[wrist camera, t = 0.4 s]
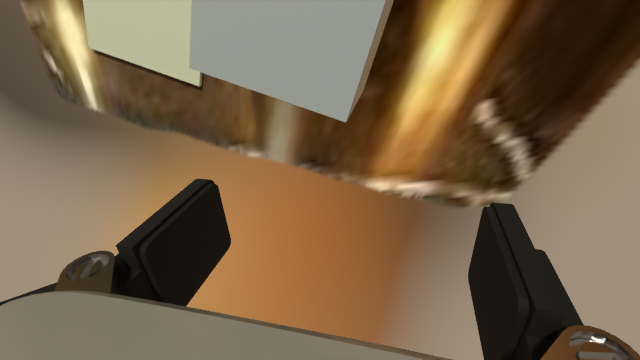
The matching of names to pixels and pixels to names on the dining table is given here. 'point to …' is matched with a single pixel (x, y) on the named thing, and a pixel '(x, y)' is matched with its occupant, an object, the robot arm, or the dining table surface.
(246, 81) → the lid
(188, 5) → the mat
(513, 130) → the dining table surface
